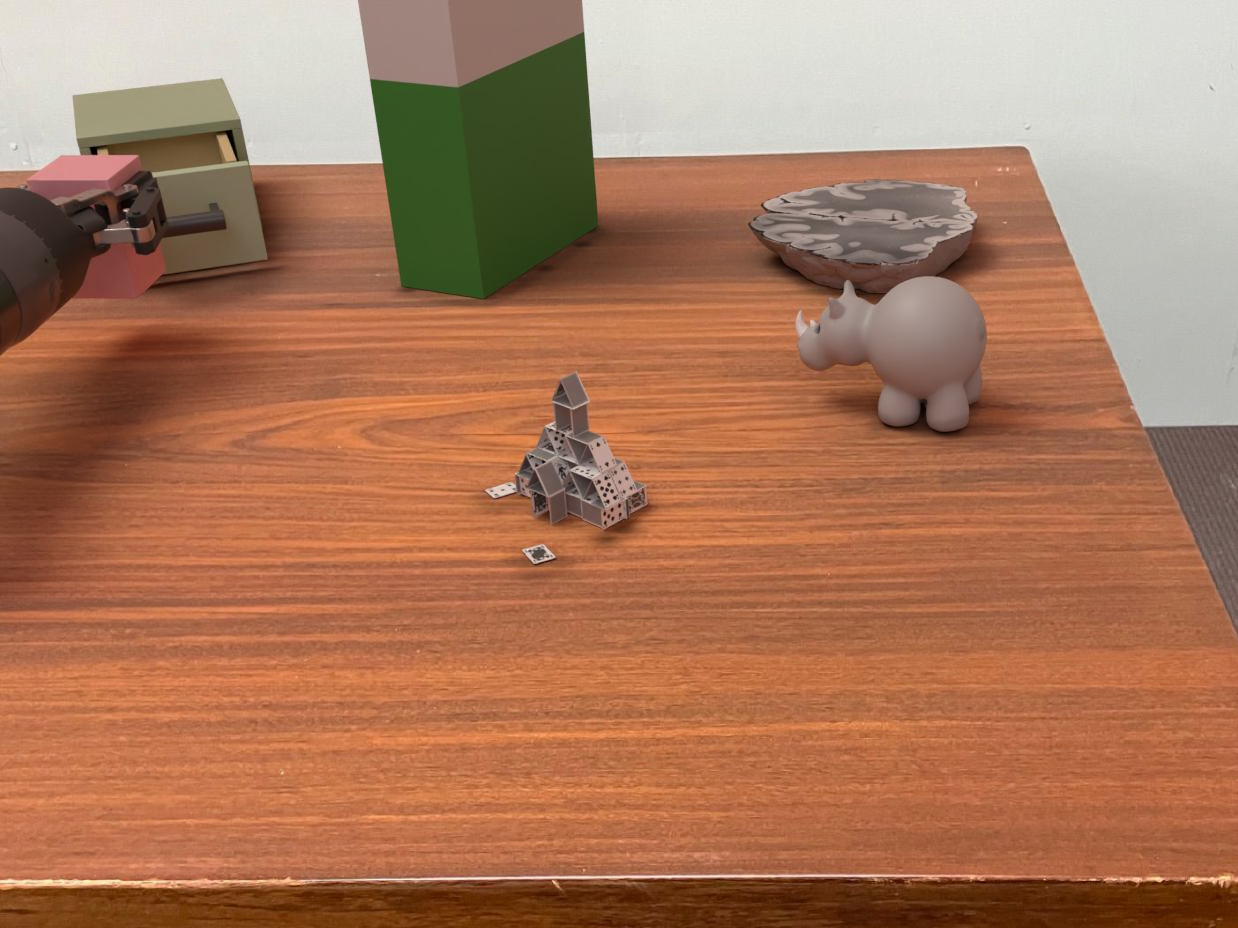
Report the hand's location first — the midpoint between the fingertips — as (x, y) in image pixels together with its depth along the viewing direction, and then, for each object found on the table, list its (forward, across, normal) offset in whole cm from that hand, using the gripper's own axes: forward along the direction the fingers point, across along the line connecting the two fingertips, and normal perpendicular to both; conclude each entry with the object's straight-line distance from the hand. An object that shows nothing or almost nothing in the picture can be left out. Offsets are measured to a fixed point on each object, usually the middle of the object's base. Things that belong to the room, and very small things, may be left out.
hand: (105, 185), depth 104 cm
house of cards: (-27, -34, +10) cm, 44 cm away
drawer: (+14, +1, +9) cm, 17 cm away
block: (-3, 0, +6) cm, 7 cm away
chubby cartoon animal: (-13, -53, +10) cm, 56 cm away
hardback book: (+16, -24, +10) cm, 30 cm away
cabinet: (+26, +7, +10) cm, 29 cm away
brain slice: (+15, -52, +10) cm, 55 cm away
